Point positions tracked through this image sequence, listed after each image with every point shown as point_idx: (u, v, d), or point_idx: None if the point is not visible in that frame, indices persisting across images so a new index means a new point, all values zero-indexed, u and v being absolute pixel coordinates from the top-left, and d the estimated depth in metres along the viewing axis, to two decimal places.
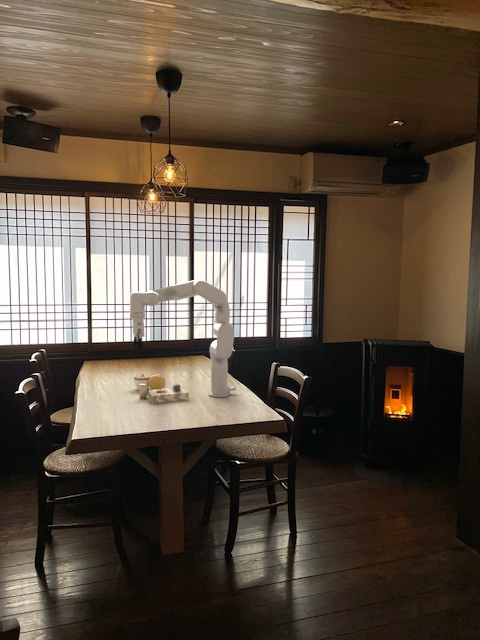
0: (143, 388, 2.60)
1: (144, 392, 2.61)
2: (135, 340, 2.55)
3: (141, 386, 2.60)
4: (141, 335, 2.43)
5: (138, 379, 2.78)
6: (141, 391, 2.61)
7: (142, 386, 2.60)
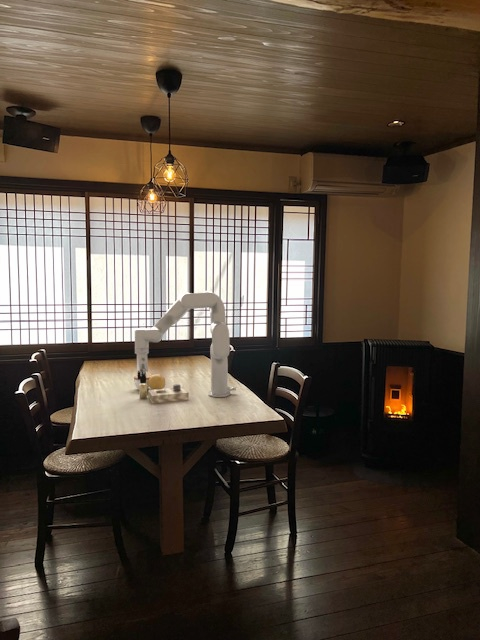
0: (143, 388, 2.60)
1: (144, 392, 2.61)
2: (139, 374, 2.65)
3: (141, 386, 2.60)
4: (145, 370, 2.53)
5: (138, 379, 2.78)
6: (141, 391, 2.61)
7: (142, 386, 2.60)
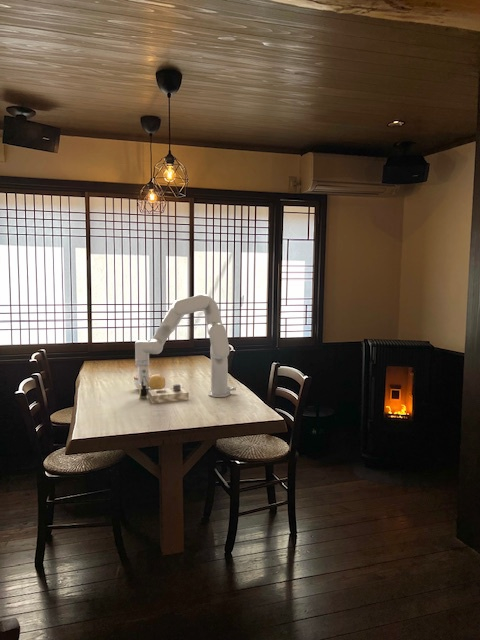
0: None
1: None
2: None
3: None
4: (145, 385, 2.56)
5: None
6: None
7: None
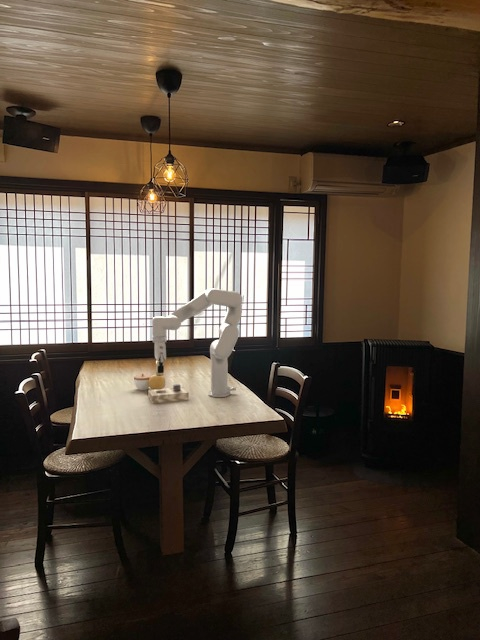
0: None
1: None
2: None
3: None
4: None
5: (138, 379, 2.78)
6: None
7: None
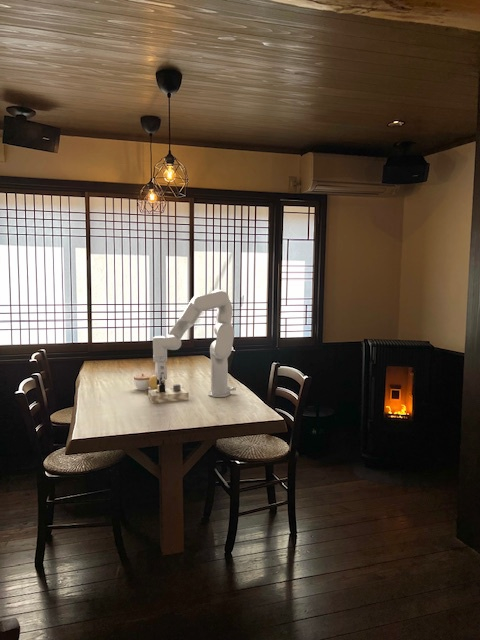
0: None
1: None
2: (158, 383, 2.63)
3: None
4: (164, 380, 2.53)
5: (138, 379, 2.78)
6: (159, 392, 2.59)
7: None
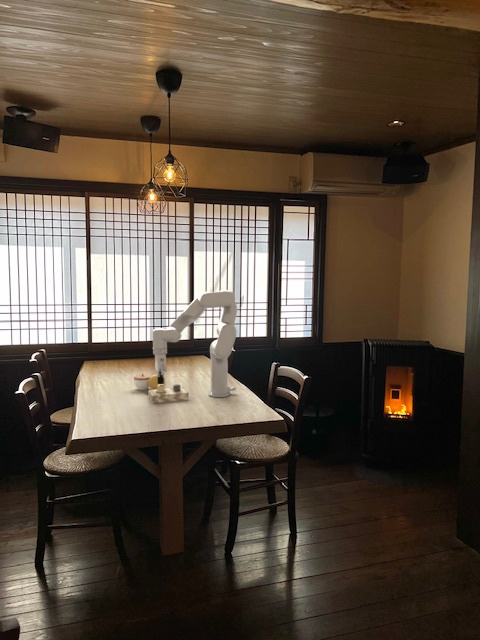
0: (161, 389, 2.59)
1: None
2: None
3: (159, 387, 2.59)
4: (163, 375, 2.56)
5: (138, 379, 2.78)
6: (159, 392, 2.59)
7: (160, 387, 2.59)
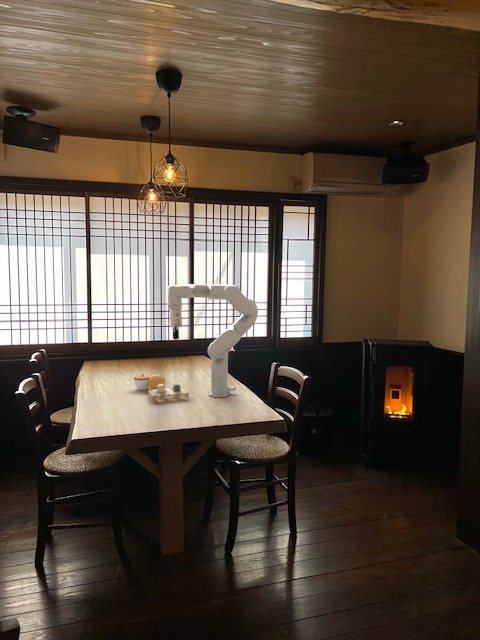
0: (161, 389, 2.59)
1: None
2: None
3: (159, 387, 2.59)
4: (178, 329, 2.65)
5: (138, 379, 2.78)
6: (159, 392, 2.59)
7: (160, 387, 2.59)
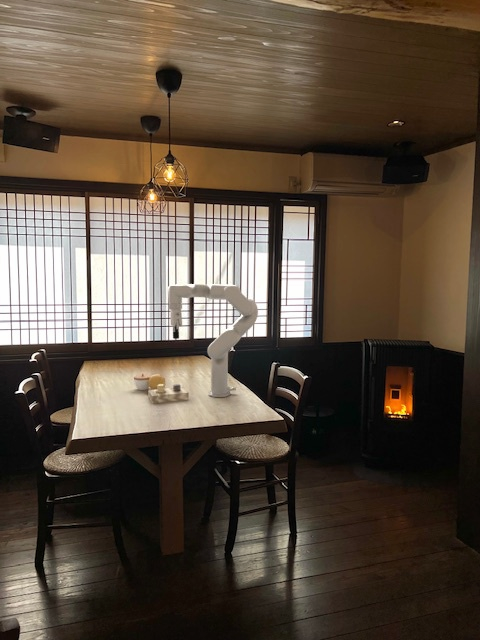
0: (161, 389, 2.59)
1: None
2: None
3: (159, 387, 2.59)
4: (178, 329, 2.65)
5: (138, 379, 2.78)
6: (159, 392, 2.59)
7: (160, 387, 2.59)
